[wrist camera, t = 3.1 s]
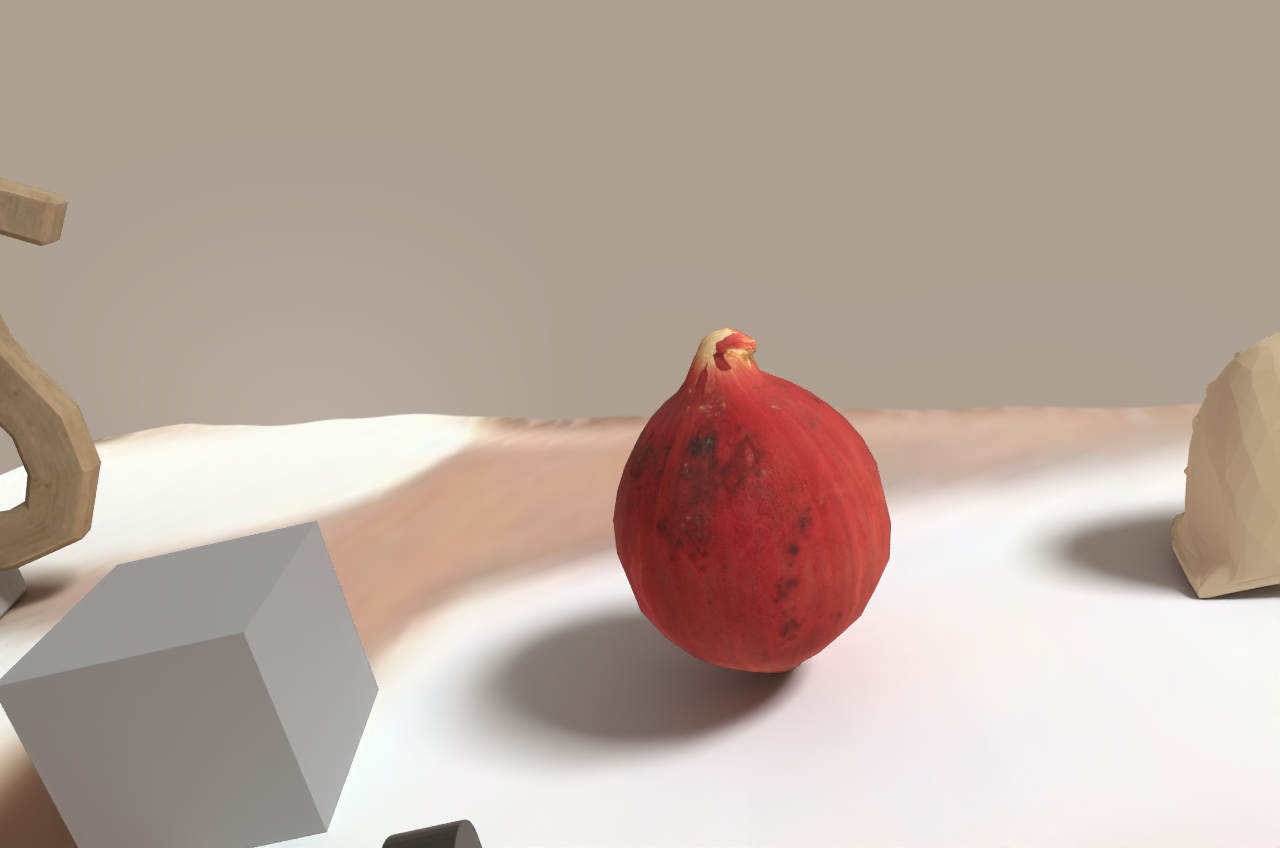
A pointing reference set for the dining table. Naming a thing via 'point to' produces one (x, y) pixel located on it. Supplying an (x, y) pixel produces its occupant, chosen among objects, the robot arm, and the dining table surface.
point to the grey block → (199, 698)
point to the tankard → (40, 422)
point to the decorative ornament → (1234, 479)
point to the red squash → (750, 515)
